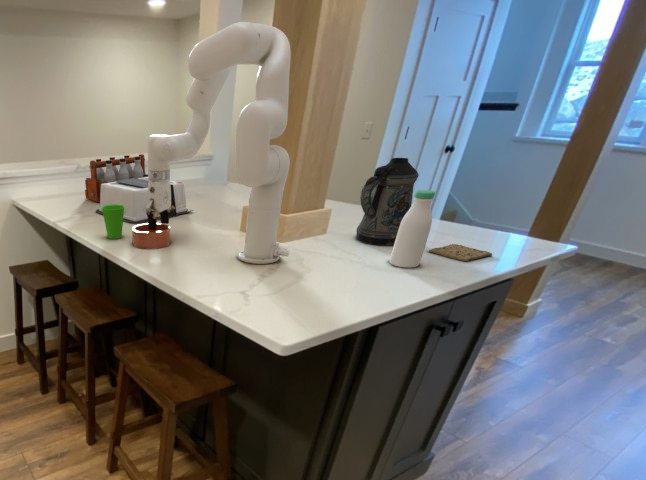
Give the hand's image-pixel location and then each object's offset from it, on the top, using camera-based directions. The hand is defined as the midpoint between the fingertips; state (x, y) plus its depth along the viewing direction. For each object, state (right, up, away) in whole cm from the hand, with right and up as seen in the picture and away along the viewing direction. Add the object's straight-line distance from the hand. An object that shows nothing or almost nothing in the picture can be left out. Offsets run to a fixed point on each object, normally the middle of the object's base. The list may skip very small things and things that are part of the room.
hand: (158, 226), depth 162 cm
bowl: (-3, -7, -2) cm, 8 cm away
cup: (-16, -2, +7) cm, 18 cm away
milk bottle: (+70, -23, -32) cm, 81 cm away
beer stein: (+75, -9, -11) cm, 76 cm away
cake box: (-5, +22, +42) cm, 48 cm away
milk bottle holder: (-16, +42, +74) cm, 87 cm away
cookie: (+91, -18, -26) cm, 96 cm away
